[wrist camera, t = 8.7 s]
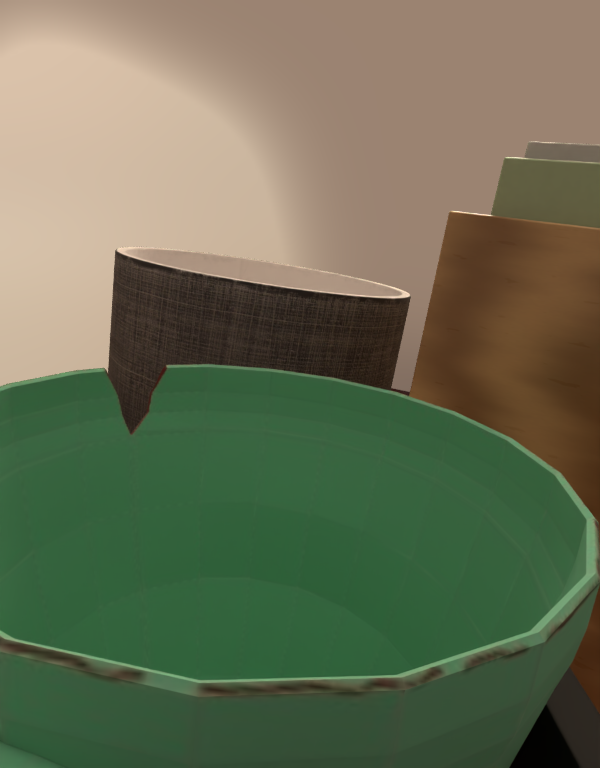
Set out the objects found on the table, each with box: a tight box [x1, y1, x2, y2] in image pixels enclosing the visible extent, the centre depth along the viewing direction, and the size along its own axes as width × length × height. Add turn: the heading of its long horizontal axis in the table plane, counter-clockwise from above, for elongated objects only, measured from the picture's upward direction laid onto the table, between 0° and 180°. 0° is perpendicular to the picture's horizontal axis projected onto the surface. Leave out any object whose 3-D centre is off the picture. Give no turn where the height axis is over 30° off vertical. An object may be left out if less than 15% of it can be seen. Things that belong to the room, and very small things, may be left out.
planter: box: [108, 247, 411, 434], centre depth 36 cm, size 18×18×16 cm
